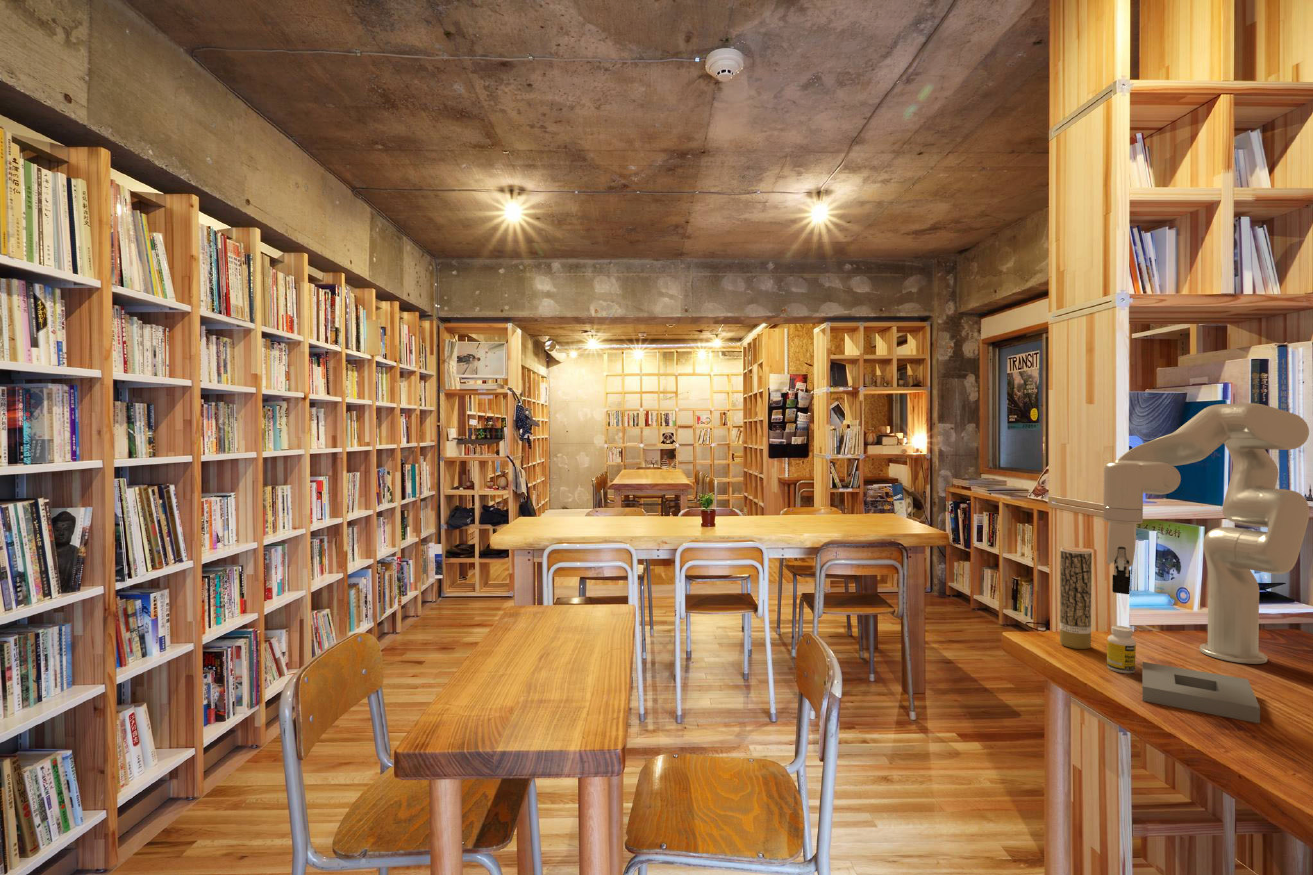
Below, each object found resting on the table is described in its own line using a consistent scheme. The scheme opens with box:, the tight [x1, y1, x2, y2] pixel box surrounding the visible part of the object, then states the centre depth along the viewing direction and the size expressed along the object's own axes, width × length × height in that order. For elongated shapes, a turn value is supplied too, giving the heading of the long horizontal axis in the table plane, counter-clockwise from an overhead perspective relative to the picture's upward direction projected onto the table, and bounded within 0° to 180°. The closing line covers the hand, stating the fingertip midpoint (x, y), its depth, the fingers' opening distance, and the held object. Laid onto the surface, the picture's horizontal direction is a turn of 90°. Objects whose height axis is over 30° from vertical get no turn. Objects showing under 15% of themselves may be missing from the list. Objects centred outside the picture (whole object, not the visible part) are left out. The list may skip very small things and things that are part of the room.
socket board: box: [1141, 661, 1261, 724], centre depth 139 cm, size 18×18×3 cm
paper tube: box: [1059, 546, 1093, 650], centre depth 172 cm, size 7×7×25 cm
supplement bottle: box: [1106, 625, 1137, 675], centre depth 155 cm, size 5×5×10 cm
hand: (1121, 589), depth 154 cm, fingers open, 9 cm apart
